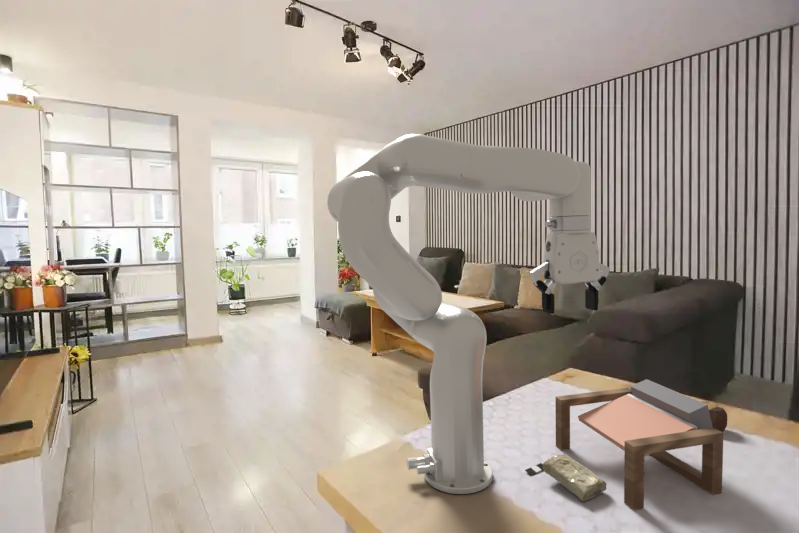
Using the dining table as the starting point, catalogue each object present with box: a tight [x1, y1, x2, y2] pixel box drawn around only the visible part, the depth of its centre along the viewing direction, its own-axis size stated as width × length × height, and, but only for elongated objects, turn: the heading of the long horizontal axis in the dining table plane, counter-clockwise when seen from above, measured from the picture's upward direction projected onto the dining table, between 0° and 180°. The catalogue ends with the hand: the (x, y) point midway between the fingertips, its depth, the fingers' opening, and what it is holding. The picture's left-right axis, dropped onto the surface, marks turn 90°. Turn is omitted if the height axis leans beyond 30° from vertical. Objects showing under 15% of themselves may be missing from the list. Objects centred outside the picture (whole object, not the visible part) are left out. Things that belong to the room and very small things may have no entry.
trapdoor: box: [577, 378, 712, 458], centre depth 83 cm, size 16×16×5 cm
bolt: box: [709, 406, 728, 433], centre depth 102 cm, size 6×5×15 cm
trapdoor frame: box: [555, 387, 724, 511], centre depth 82 cm, size 17×22×10 cm
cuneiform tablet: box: [524, 454, 607, 502], centre depth 79 cm, size 7×4×12 cm
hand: (570, 311), depth 89 cm, fingers open, 9 cm apart
